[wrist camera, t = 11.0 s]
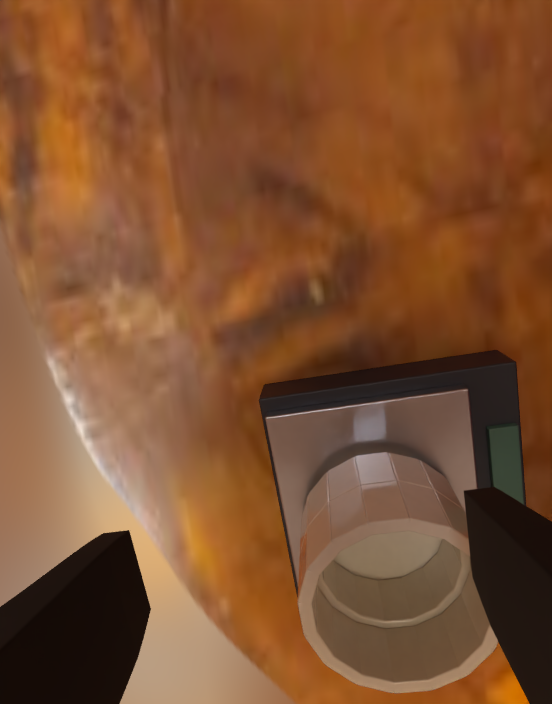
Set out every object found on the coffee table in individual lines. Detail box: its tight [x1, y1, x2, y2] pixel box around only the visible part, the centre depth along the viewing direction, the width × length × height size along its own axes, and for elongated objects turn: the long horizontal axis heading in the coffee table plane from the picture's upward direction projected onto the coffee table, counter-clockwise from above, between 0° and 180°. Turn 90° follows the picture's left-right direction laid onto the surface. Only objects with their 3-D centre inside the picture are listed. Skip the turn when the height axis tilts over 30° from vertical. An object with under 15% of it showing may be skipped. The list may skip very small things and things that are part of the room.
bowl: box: [298, 452, 498, 693], centre depth 16 cm, size 6×6×4 cm
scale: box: [259, 350, 526, 597], centre depth 19 cm, size 9×10×2 cm
